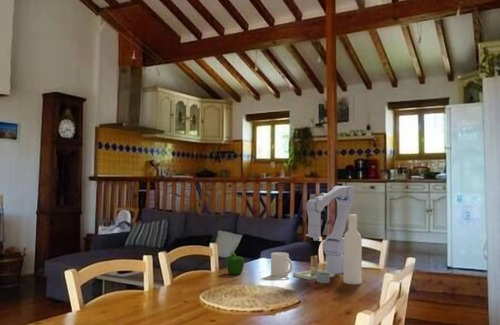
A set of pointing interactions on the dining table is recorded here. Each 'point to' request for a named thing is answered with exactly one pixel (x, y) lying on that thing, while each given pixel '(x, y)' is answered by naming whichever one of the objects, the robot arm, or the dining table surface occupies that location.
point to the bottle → (352, 253)
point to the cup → (323, 277)
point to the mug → (280, 264)
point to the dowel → (313, 265)
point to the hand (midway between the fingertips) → (314, 254)
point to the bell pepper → (235, 264)
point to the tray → (308, 274)
